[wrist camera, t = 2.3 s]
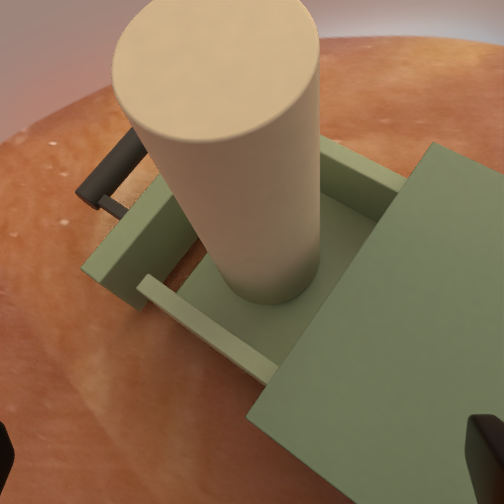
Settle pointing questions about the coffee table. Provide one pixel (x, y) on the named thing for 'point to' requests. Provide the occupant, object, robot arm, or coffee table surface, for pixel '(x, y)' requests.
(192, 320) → the drawer
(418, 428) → the cabinet
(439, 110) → the coffee table surface
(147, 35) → the candle
